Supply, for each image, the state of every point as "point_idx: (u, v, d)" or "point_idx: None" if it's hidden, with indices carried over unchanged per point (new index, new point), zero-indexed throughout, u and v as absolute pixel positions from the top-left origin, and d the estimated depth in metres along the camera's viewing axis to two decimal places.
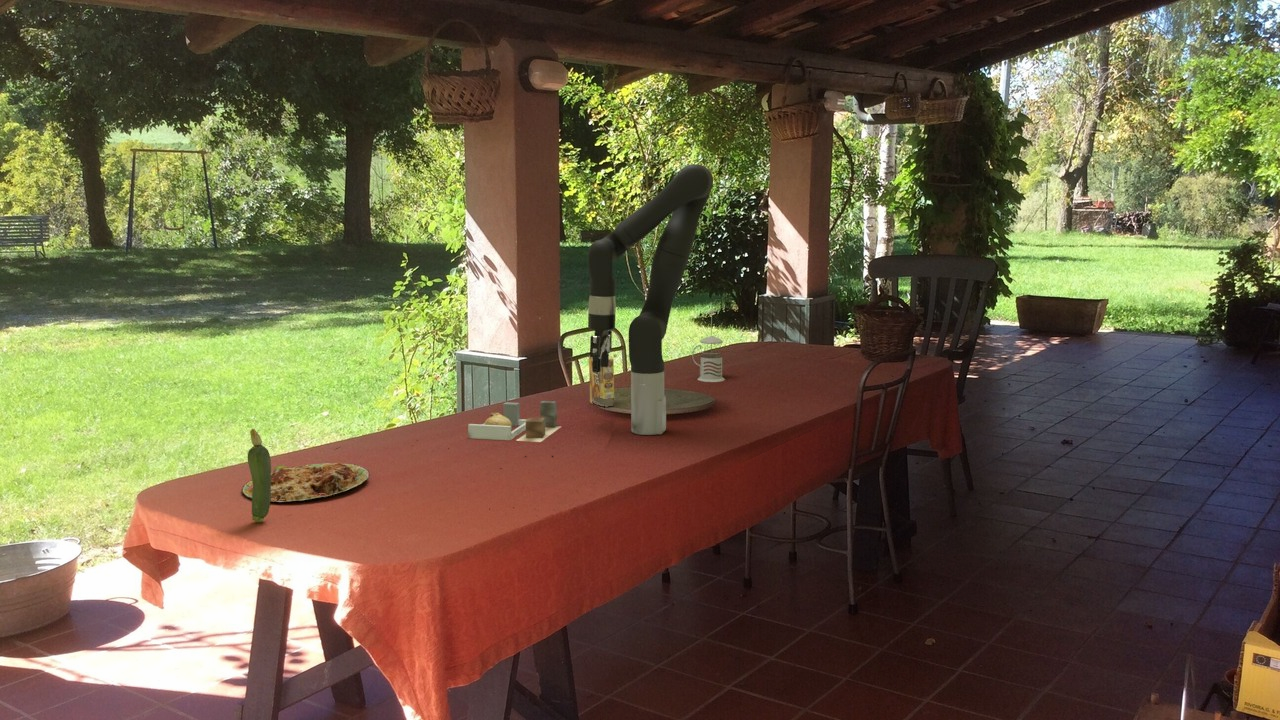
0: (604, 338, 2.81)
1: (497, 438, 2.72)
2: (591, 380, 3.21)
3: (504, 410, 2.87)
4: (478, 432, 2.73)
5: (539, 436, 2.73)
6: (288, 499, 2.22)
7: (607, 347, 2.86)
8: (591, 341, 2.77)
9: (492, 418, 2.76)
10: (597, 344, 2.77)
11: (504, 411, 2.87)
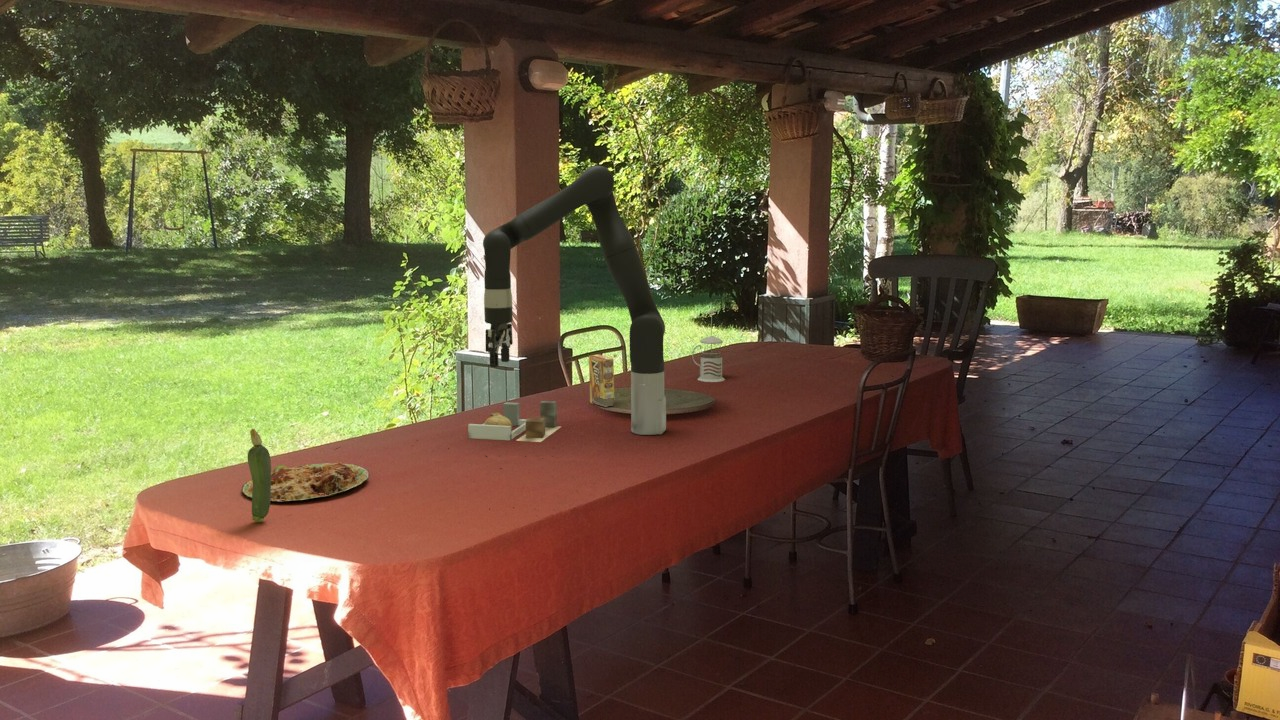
0: (501, 332, 2.74)
1: (497, 438, 2.72)
2: (591, 380, 3.21)
3: (504, 410, 2.87)
4: (478, 432, 2.73)
5: (539, 436, 2.73)
6: (288, 499, 2.22)
7: (506, 341, 2.80)
8: (486, 335, 2.70)
9: (492, 418, 2.76)
10: (492, 338, 2.70)
11: (504, 411, 2.87)
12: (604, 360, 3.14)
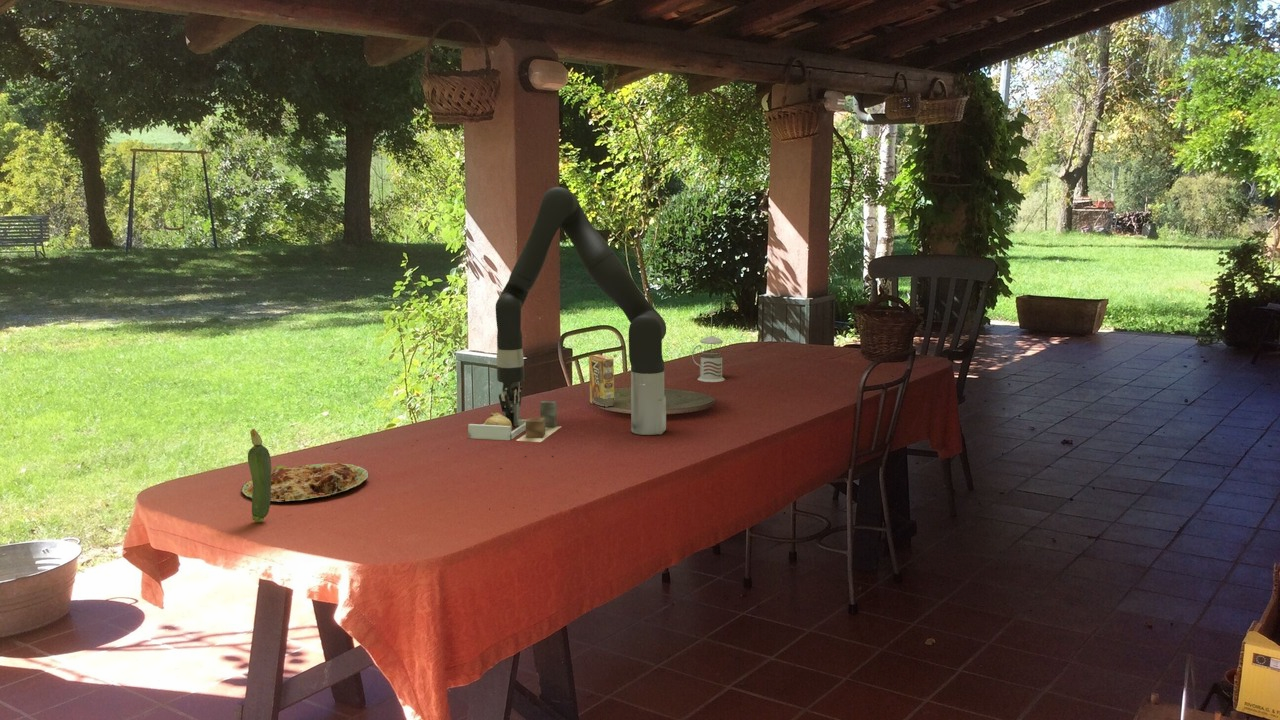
0: (513, 391, 2.85)
1: (497, 438, 2.72)
2: (591, 380, 3.21)
3: None
4: (478, 432, 2.73)
5: (539, 436, 2.73)
6: (287, 499, 2.22)
7: (516, 401, 2.89)
8: (500, 400, 2.82)
9: (492, 418, 2.76)
10: (506, 402, 2.82)
11: None
12: (604, 360, 3.14)
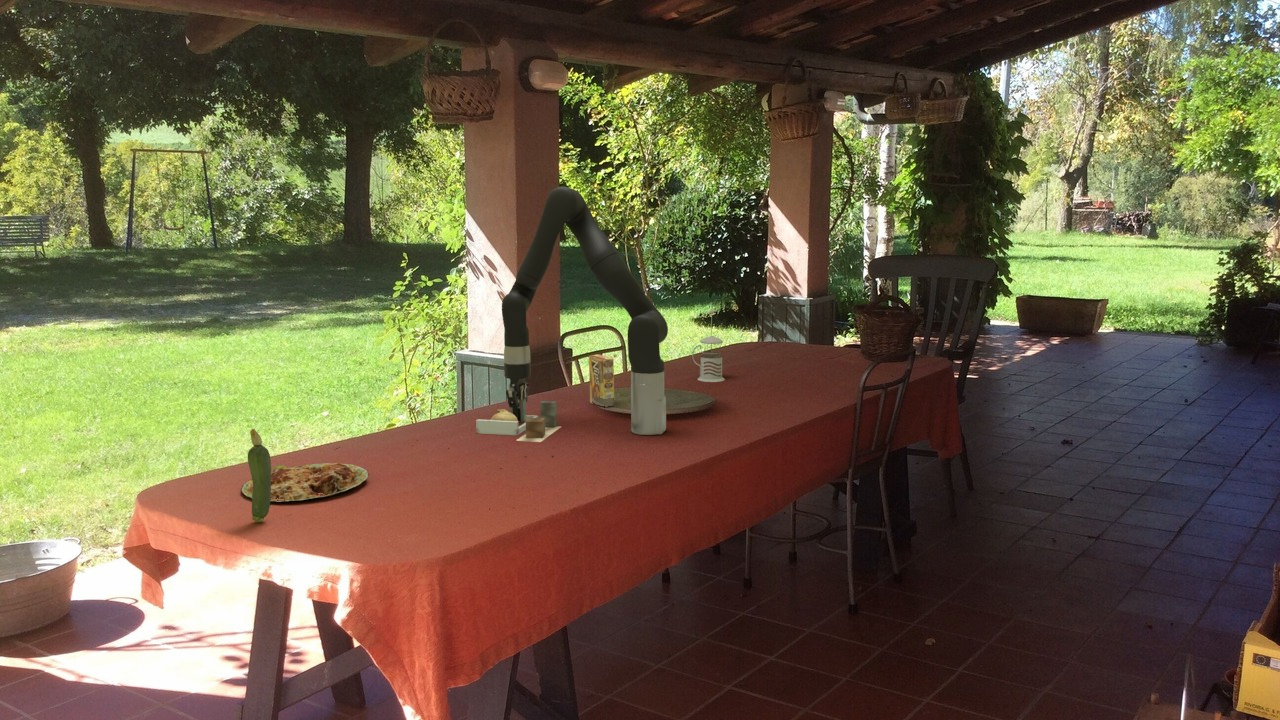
0: (520, 387, 2.91)
1: (504, 433, 2.77)
2: (591, 380, 3.21)
3: None
4: (486, 427, 2.78)
5: (539, 436, 2.73)
6: (287, 499, 2.22)
7: (522, 397, 2.94)
8: (507, 396, 2.87)
9: (498, 414, 2.80)
10: (514, 398, 2.87)
11: None
12: (604, 360, 3.14)
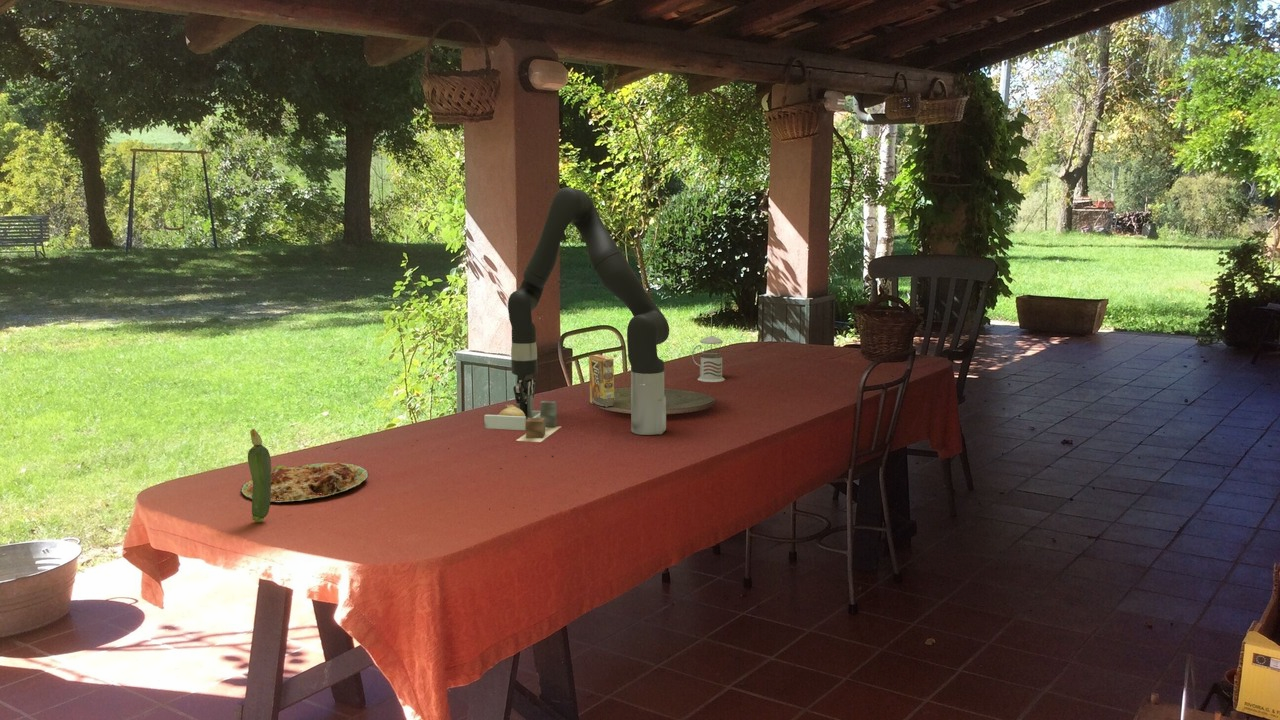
0: (527, 383, 2.96)
1: (512, 428, 2.83)
2: (591, 380, 3.21)
3: None
4: (494, 422, 2.84)
5: (539, 436, 2.73)
6: (286, 499, 2.22)
7: (529, 393, 3.00)
8: (515, 392, 2.93)
9: (506, 410, 2.86)
10: (521, 394, 2.93)
11: (518, 403, 2.99)
12: (604, 360, 3.14)
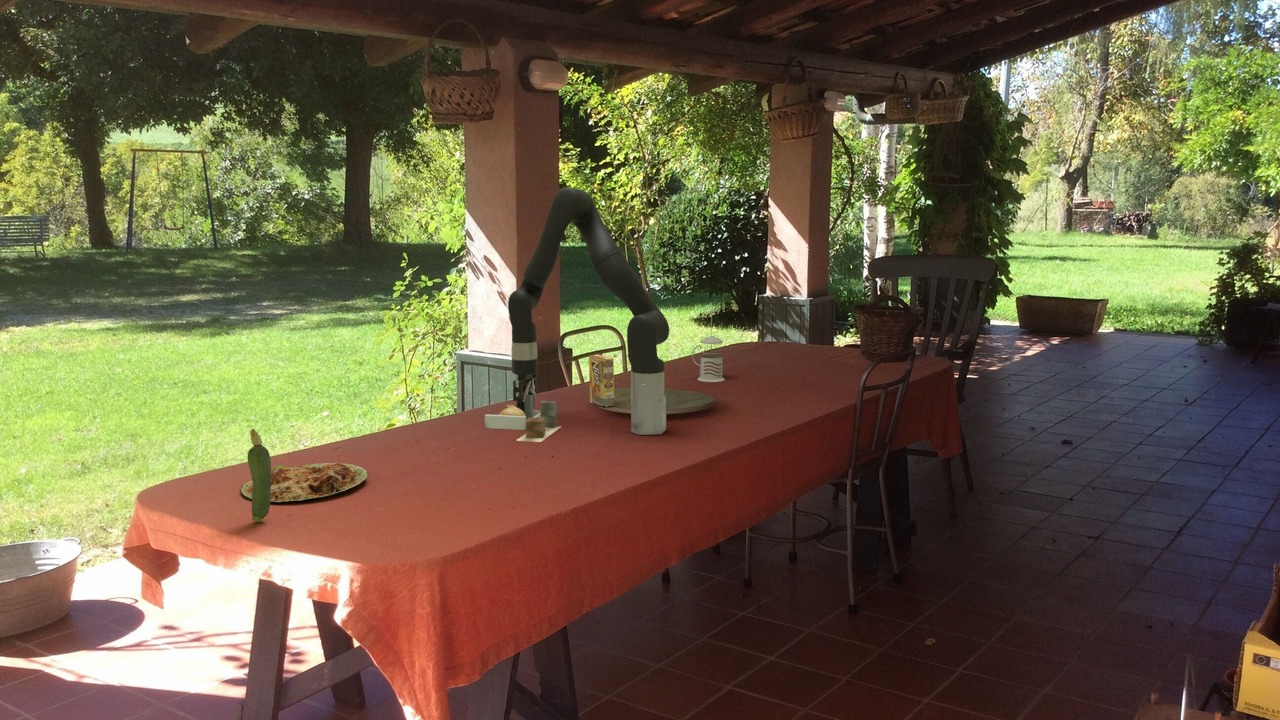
0: (527, 382, 2.97)
1: (512, 428, 2.83)
2: (591, 380, 3.21)
3: None
4: (494, 422, 2.84)
5: (539, 436, 2.73)
6: (286, 499, 2.22)
7: (532, 390, 3.02)
8: (514, 386, 2.92)
9: (506, 410, 2.86)
10: (519, 388, 2.92)
11: None
12: (604, 360, 3.14)
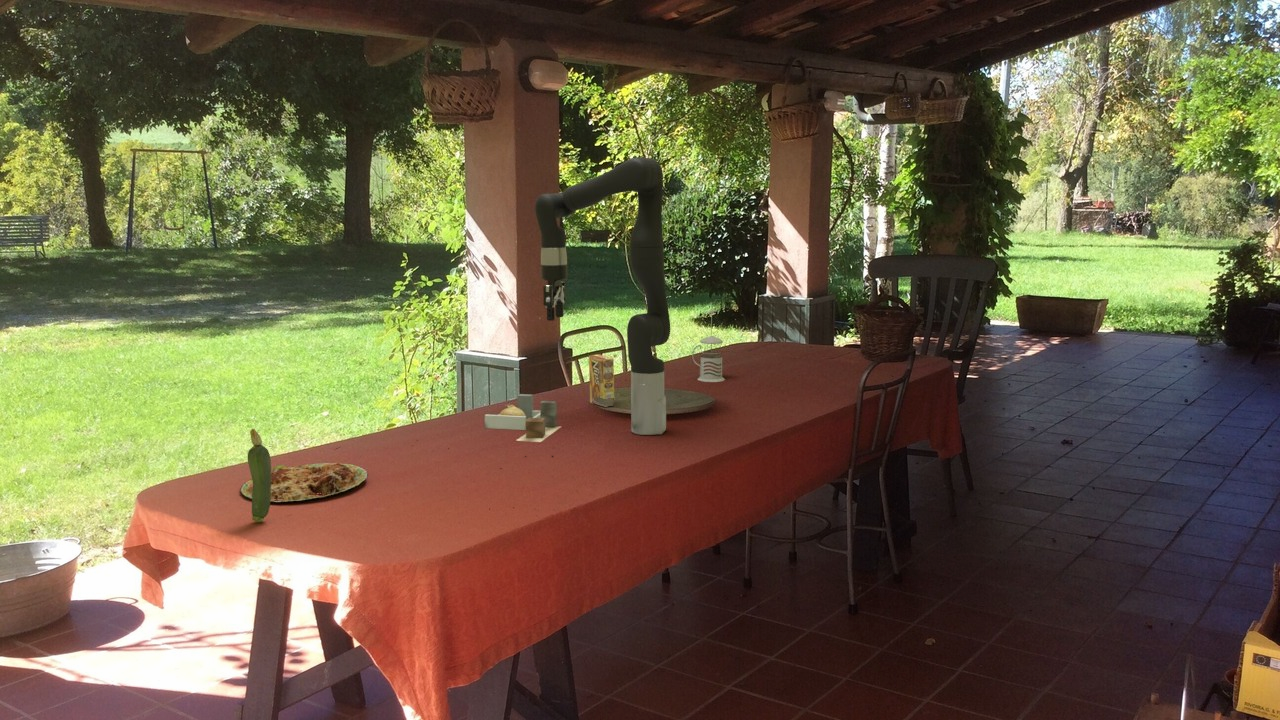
0: (557, 288, 2.94)
1: (512, 428, 2.83)
2: (591, 380, 3.21)
3: (518, 401, 2.99)
4: (494, 422, 2.84)
5: (539, 436, 2.73)
6: (285, 499, 2.22)
7: (561, 297, 3.00)
8: (544, 290, 2.90)
9: (506, 410, 2.86)
10: (550, 293, 2.90)
11: (518, 402, 2.99)
12: (604, 360, 3.14)
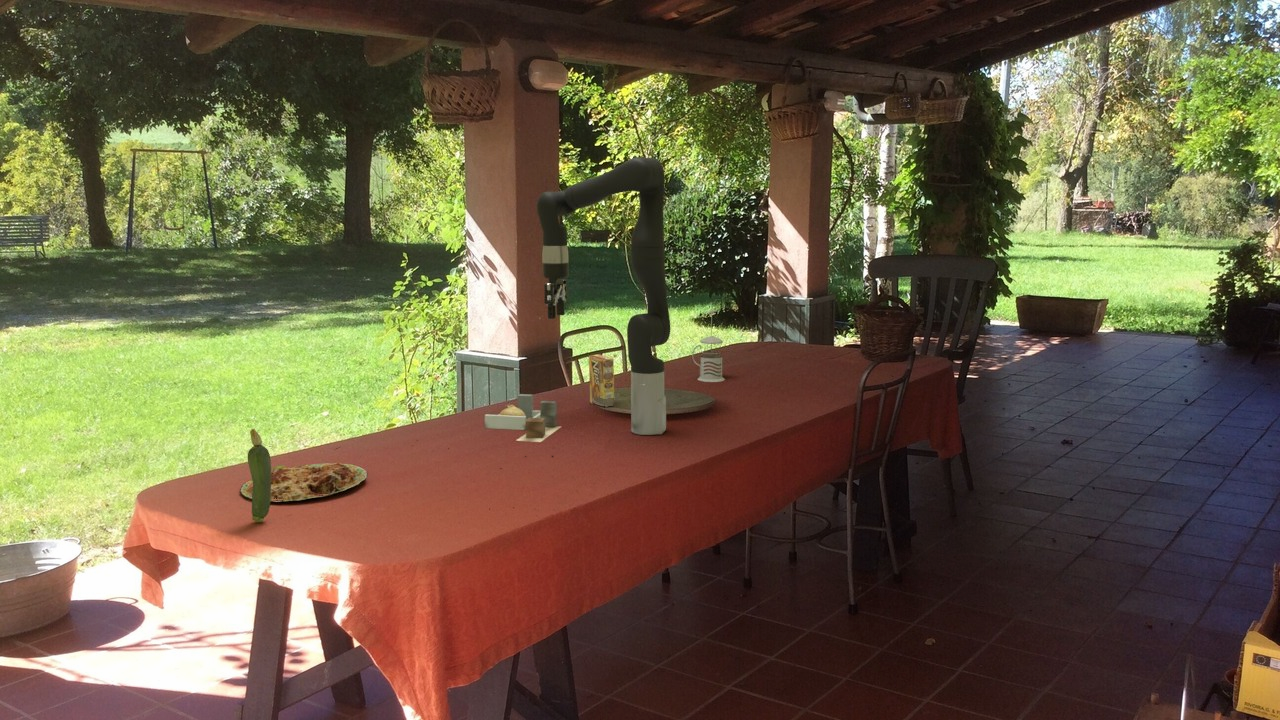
0: (558, 286, 2.94)
1: (512, 428, 2.83)
2: (591, 380, 3.21)
3: (518, 401, 2.99)
4: (494, 422, 2.84)
5: (539, 436, 2.73)
6: (285, 499, 2.22)
7: (562, 295, 3.00)
8: (545, 288, 2.90)
9: (506, 410, 2.86)
10: (551, 291, 2.90)
11: (518, 402, 2.99)
12: (604, 360, 3.14)
